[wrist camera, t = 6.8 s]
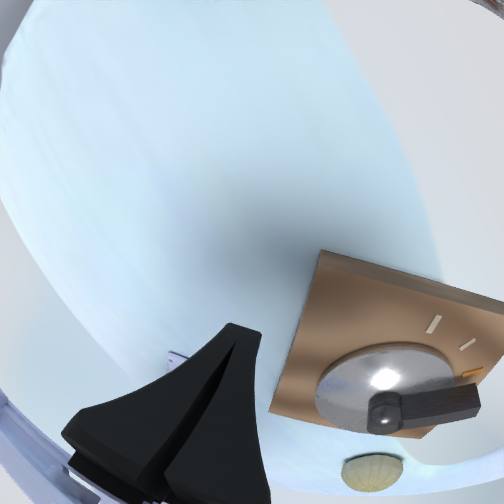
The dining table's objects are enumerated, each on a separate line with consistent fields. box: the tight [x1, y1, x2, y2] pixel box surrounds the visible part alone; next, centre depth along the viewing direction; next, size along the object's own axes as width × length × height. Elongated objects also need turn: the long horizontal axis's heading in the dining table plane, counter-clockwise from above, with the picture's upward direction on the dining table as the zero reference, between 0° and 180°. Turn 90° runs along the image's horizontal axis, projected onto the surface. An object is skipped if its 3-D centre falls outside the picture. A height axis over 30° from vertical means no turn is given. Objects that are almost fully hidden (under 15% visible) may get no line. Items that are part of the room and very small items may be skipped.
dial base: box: [268, 250, 504, 439], centre depth 21 cm, size 18×18×2 cm
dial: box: [315, 343, 481, 435], centre depth 18 cm, size 14×12×4 cm
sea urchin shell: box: [341, 455, 403, 492], centre depth 29 cm, size 9×8×8 cm
